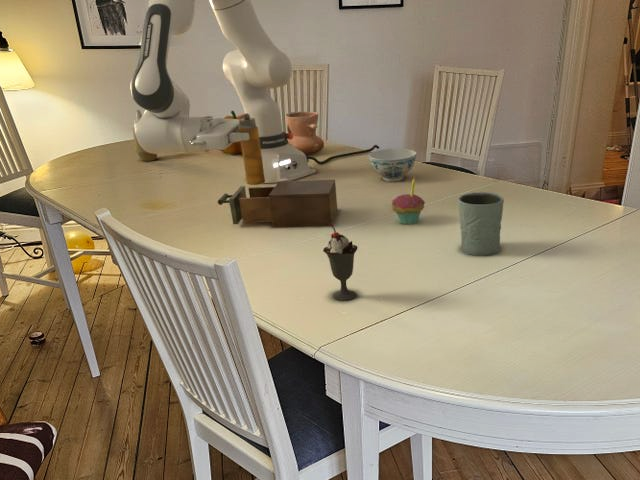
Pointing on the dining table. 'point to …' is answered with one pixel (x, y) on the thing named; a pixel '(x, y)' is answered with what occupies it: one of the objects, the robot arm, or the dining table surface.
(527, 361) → the dining table surface
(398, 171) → the chinaware
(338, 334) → the dining table surface
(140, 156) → the squeeze bottle
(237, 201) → the drawer
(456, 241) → the dining table surface
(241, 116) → the decorative pumpkin
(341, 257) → the sundae
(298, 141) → the ceramic jug
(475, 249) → the green embossed cup
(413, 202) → the cupcake
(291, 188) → the cabinet
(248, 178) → the pepper mill
